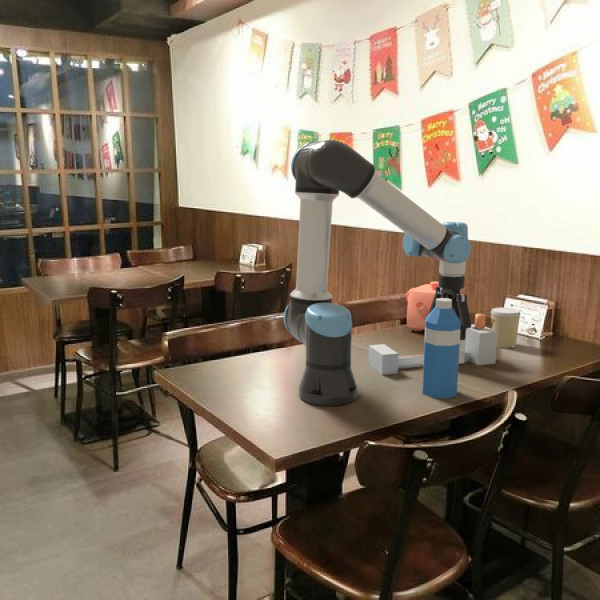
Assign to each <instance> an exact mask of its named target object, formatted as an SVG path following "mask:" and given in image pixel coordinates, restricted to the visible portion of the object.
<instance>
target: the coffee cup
mask: <svg viewBox="0 0 600 600" xmlns="http://www.w3.org/2000/svg"><path fill="white" fill-rule="evenodd" d="M520 311H521V310H519V309H516V308H513V307H494V308H492V309H491V311H490V314H491V316H490V317H491V318H490V319H491V320H490V324H491V325H490V326H491V327H490V329H492V330H495V331H497V332H498V335H497V346H500V347H512V346H515V347H516V345H517V344H516V343H517V338H518V333H519V332H518V331H519V325H520V317H521V312H520ZM500 347H499V348H500Z"/></svg>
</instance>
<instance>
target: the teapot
mask: <svg viewBox="0 0 600 600" xmlns="http://www.w3.org/2000/svg"><path fill="white" fill-rule="evenodd" d="M438 283H439V281H431V282H430V283H428V284H427V283H425V284H422V285H420V286H417V287H412V288H410V289H409V290H408V291H406V295H405V298H406V301H407V308H406V311H407V312H406V327H407V328H411V329H413V331H414V332H424V331H425V319H426V317H427V316H428V315H429V314H430V313H429V311H430V308H431V305H432V302H433V299H434V296H435V292H436V287H439V286H438ZM462 290H463V289H461V290H460V294H463V293H462ZM457 305H458V304H457Z"/></svg>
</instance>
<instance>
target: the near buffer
mask: <svg viewBox="0 0 600 600" xmlns="http://www.w3.org/2000/svg"><path fill="white" fill-rule="evenodd" d="M398 356H399V353H398V352H397V351H395V350H394V349H392V348H391V347H389V346H388V345H386V344H385V343H383V344H369V345H368V358H367V359H368V360H367V361H368V362H367V363H368V366H370V367H371V368H372V369H374V370H375V371H376V372H377V373H378V374H379V375H382V376H386V375H393V374H398V373H399V369H398Z"/></svg>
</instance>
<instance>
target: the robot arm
mask: <svg viewBox="0 0 600 600" xmlns="http://www.w3.org/2000/svg"><path fill="white" fill-rule="evenodd" d="M290 163H291V165H290V170H291V174H292V176H293V178H294V180H295V189H294V193H295V195H296V196H297V197H298V198H299V200H300V201H299V202H300V204H299V219H298V220H299V223H298V243H297V246H298V247H297V260H296V261H297V263H296V279H295V289H293V290H292V291H291V292H290V294H289V303H288V304H287V305H286V307H285V310H284V312H283V323H284V326H285V328H286V330H287V331H288V333H289V334H290V335H291V336H292V337H293V338H294V339H295V340H297V341H299V342H300V343H302V344H303V345H304V346H305V368H304V371H303V372H302V373H303V374H302V377H301V379H300V383H299V386H298V396H299V398H300V399H301V400H302V401H303V402H306V403H308V404H311V405H317V406H324V407H325V406H326V407H331V406H332V407H333V406H342V405H347V404H349V403H352V402H354V401H355V400H356V399H357V398H358V386H357V384H356V379H355V376H354V374H353V370H352V336H353V335H352V333H353V332H352V330H353V319H352V313H351V311H350V310H349V309H348V308H347V307H345V306H343V305H341V304H336V303H333V295H332V294H331V292H329V291H328V282H329V281H328V279H329V265H330V248H331V235H332V234H331V232H332V217H333V202H334V200H335V199H337V198H338V196H339V195H340V192H341V193H343V194H345V195H346V196H347V197H349V198H350V199H359V200H360V201H362V202H363V203H364V204H366V205H367V206H368V207H370V208H371V209H372V210H374V211H375V212H376V213H378V214H379V215H381V216H382V217H383V218H385V220H387V221H389V222H390V223H391V224H393V225H394V226H395V227H397V228H398V229H400V230H401V231H402V232H403V233H404V234H403V235H404V236H403V237H402V250H403V252H404V253H405V255H406V256H408V257H415V258H417V257H425V258H429V259H434V260H439V264H438V265H439V266H438V267H439V270H438V273H439V275H438V282H439V283H438V286H439V287H436V292H435V296H434V299H433V302H432V305H431V308H430V311H429V313H430V312H431V311H432V310H433V309H434V308H435V306H436V299H438V298H448V299H452V309H453V310H454V312H455V313H456V315H457V317H458V318H459V320H460V322H461V329H460V347H459V350H464V348H465V338H466V329H467V328H471V325H472V323H471V322H472V321H471V317H470V312H469V306H468V296H467V294H466V293H465V294H464V293H462V294H460V290H461V289H462V290H463V289H464V288H465V284H466V283H465V281H466V279H465V278H466V276H465V274H466V265H467V264H466V263H467V261H466V260H467V259H468V258H470V255H471V251H472V244H471V242H470V239H469V226H468V225H467V223H465V222H461V221H445V222H440V221H438V220H437V219H436V218H435V217H433V216H432V215H431V214H430V213H428V212H427V211H426V210H425V209H424V208H422V207H421V206H420V205H418V204H417V203H416V202H415V201H413V200H412V199H410V198H409V197H408V196H407V195H405V194H404V193H403V192H402V191H401V190H400V189H398V188H396V187H395V186H393V184H391V183H390V182H388V181H387V180H386V179H385V178H384V177H382V176H381V175H380V174H379V173H378V172H377V168H376V166H375V165H374V164H372V163H371V161H369V160H367V159H366V158H365V157H364V156H362V155H361V154H360V153H359V152H357V151H356V150H355V149H354V148H352V147H351V146H349V145H348V144H346V143H344V142H342V141H340V140H335V139H327V140H319V141H318V140H317V141H310V142H308V143H306V144H304V145H302V146H301V147H300V148H298V149H297V150H296V151H295V152H294V154H293V156H292V159H291V162H290ZM457 304H458V305H457Z"/></svg>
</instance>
